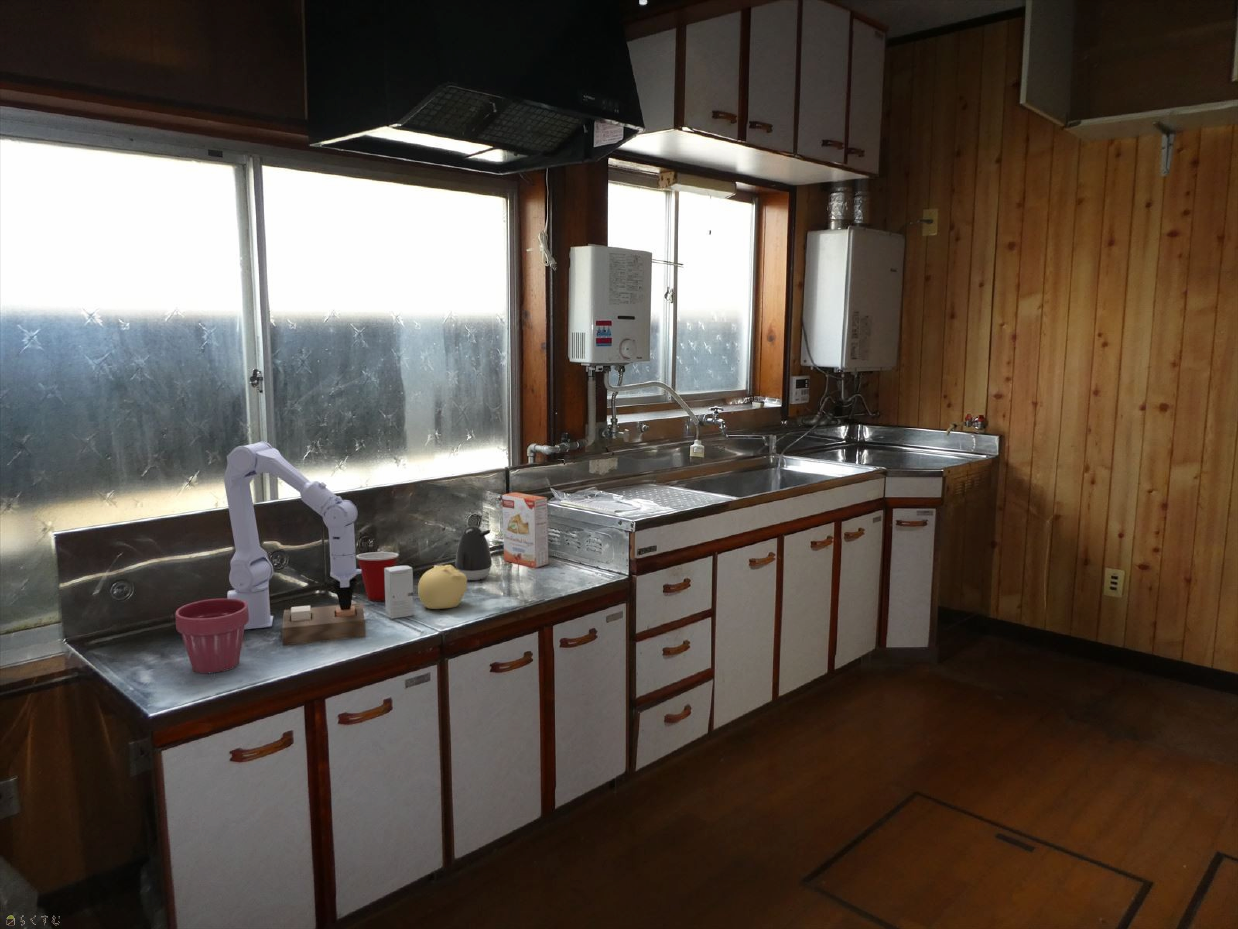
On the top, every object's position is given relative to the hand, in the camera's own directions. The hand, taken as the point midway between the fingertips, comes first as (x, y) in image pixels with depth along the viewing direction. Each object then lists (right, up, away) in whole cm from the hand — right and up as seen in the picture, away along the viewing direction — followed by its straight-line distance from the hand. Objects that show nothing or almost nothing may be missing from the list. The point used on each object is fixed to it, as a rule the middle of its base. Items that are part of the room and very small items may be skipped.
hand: (345, 609), depth 217 cm
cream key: (-10, -3, -3) cm, 10 cm away
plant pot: (-21, -9, -23) cm, 32 cm away
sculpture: (+19, -2, +18) cm, 27 cm away
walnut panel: (-5, -5, -1) cm, 7 cm away
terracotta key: (0, -3, +1) cm, 3 cm away
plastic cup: (+1, -1, +26) cm, 26 cm away
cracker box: (+36, +4, +61) cm, 71 cm away
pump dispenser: (+23, +2, +45) cm, 50 cm away
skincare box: (+10, -4, +11) cm, 16 cm away
